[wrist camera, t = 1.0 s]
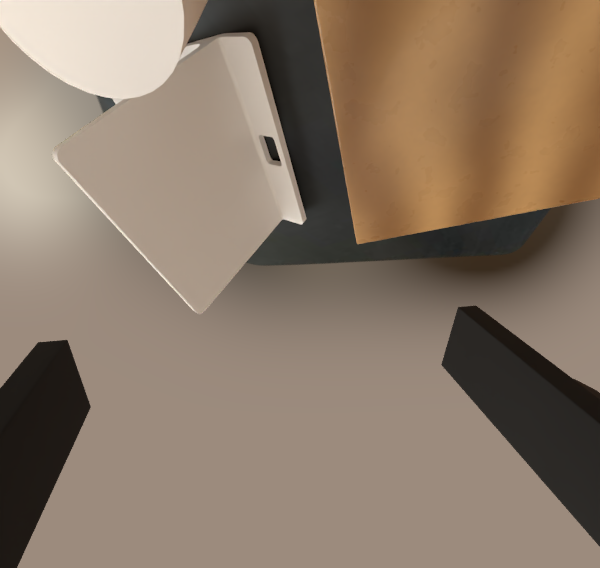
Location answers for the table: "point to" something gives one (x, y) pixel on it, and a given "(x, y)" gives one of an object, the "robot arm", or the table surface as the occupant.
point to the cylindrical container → (103, 40)
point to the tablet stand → (192, 167)
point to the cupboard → (462, 108)
